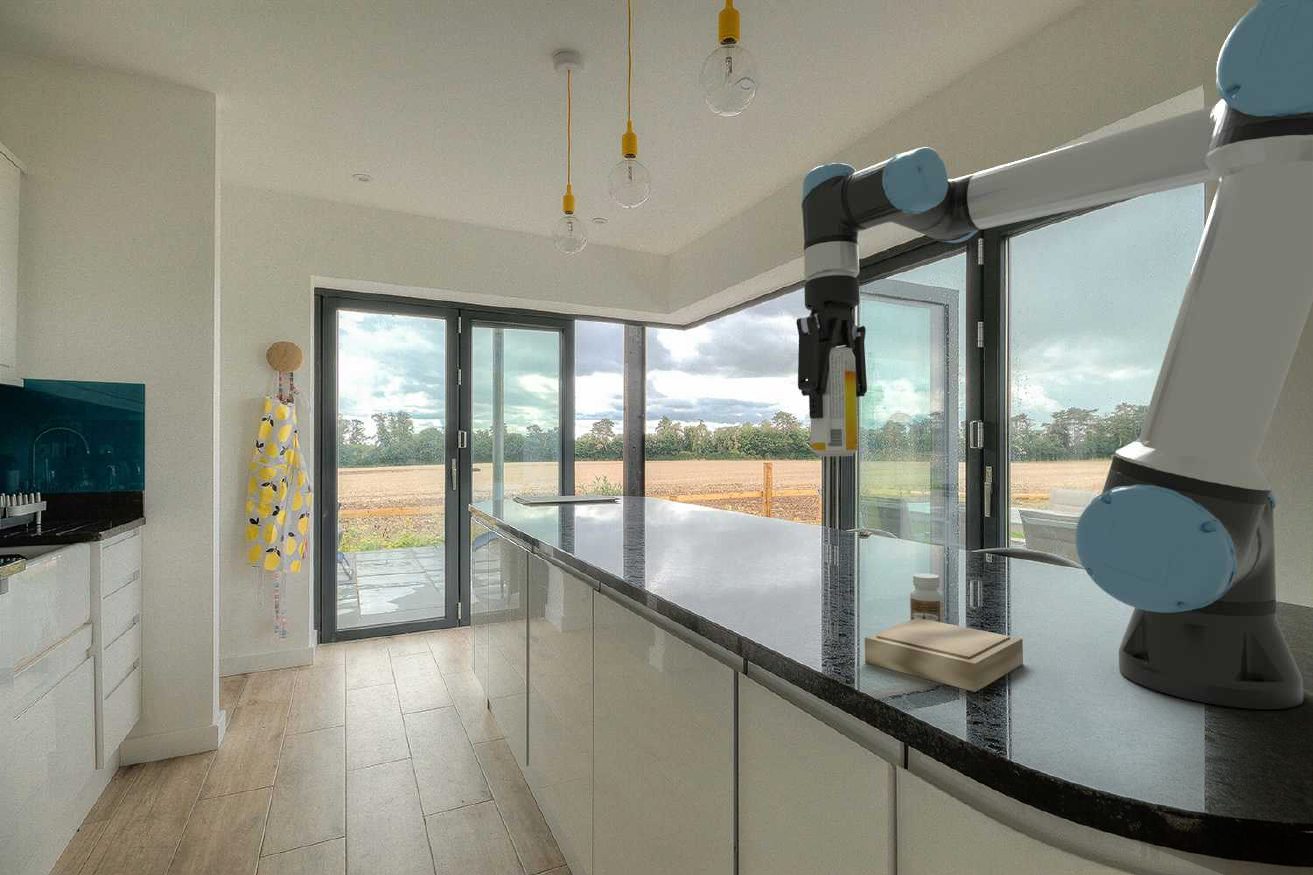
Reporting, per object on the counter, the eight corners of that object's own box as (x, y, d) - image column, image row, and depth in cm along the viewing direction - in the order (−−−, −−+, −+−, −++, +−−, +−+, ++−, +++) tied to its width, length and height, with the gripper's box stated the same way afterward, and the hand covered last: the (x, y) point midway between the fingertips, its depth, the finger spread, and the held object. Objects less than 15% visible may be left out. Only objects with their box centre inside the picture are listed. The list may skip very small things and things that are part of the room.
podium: (1023, 663, 77) (1022, 636, 77) (975, 692, 68) (974, 661, 68) (918, 640, 87) (917, 616, 87) (865, 662, 78) (864, 635, 78)
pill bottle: (908, 632, 90) (907, 577, 91) (912, 624, 94) (911, 571, 94) (943, 636, 88) (941, 579, 89) (945, 628, 92) (944, 573, 92)
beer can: (852, 455, 94) (850, 352, 94) (861, 455, 88) (859, 346, 88) (810, 456, 95) (807, 354, 95) (816, 456, 89) (813, 347, 89)
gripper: (846, 294, 101) (849, 442, 100) (767, 274, 88) (770, 443, 88) (890, 284, 95) (894, 441, 95) (813, 261, 83) (817, 442, 82)
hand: (835, 442), depth 91 cm, fingers closed on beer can, 6 cm apart
